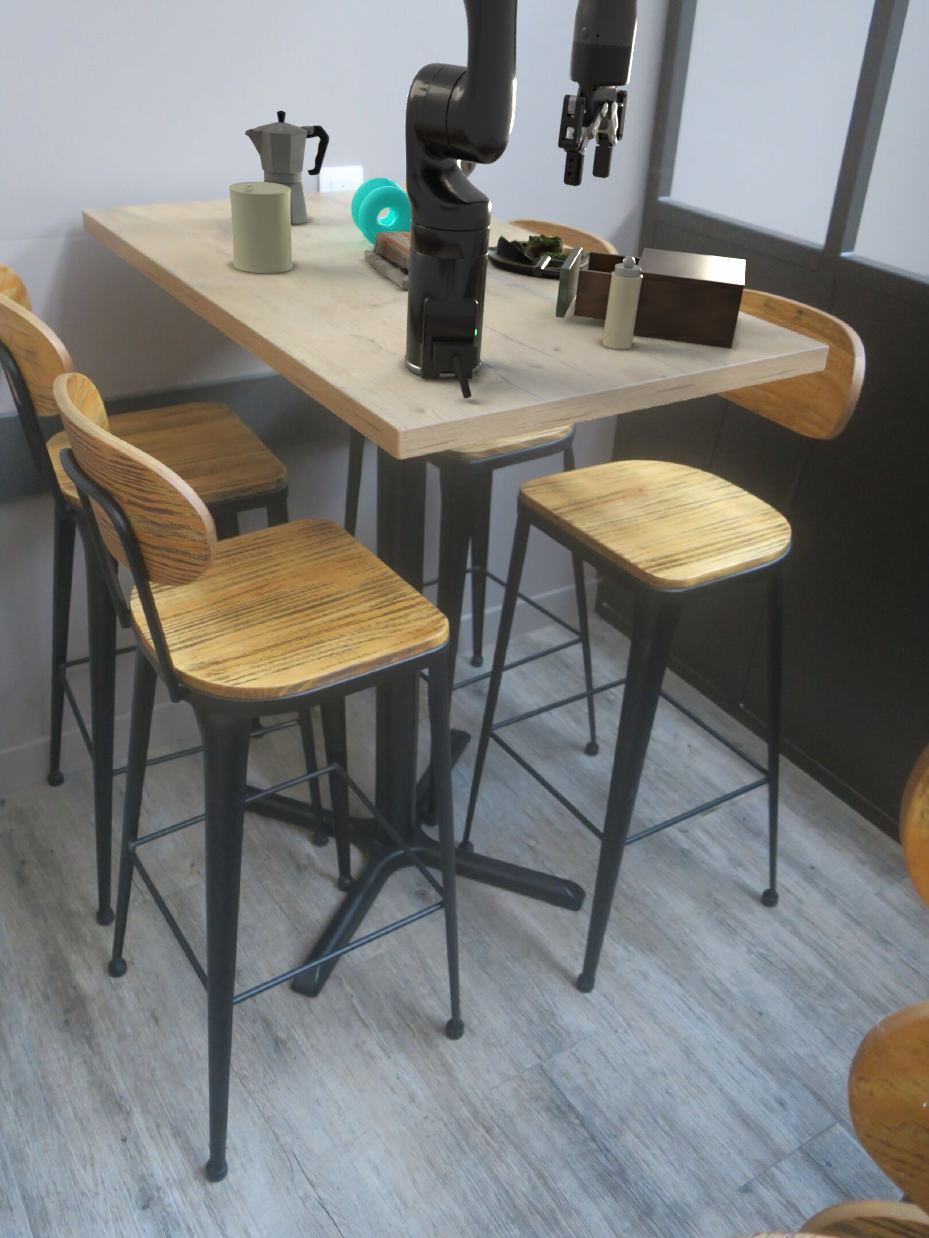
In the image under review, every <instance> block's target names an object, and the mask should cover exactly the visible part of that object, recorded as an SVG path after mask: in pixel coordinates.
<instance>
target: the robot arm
mask: <svg viewBox="0 0 929 1238" xmlns="http://www.w3.org/2000/svg"><path fill="white" fill-rule="evenodd" d="M518 1H519V0H462V3H463V6H464V12H465V18H466V27H467V28H466V29H467V58H466V59H467V60H466V65H465V66H464V65H457V64H452V63H445V62H443V63H442V62H431V63H428V64H426V65H425V64H424V66H422V67H421V68H420V69H419V70H418V71H417V72H416V73H415V75H414V77H413V79H412V81H411V83H410V86H409V90H408V93H407V98H406V102H405V113H404V114H405V115H404V145H405V146H404V148H405V149H404V150H405V151H404V152H405V153H404V155H405V189H406V193H407V195H408V199H409V202H410V206H411V229H410V253H409V280H408V289H407V308H406V338H405V340H406V341H405V355H404V366H405V368H406V369H407V370H408V371H410V372H411V373H414V374H417V375H419V376H420V378H421V379H424V380H427V379H430V380H431V379H433V380H458V382H459V386H460V391H461V393H462V397H463V399H469V398H471V397H472V392H471V388H470V385H469V380H472V379H473V376H474V375H476V374H478V373H479V372H480V371H481V368H482V367H481V366H482V360H481V356H482V355H481V353H482V341H483V327H484V315H485V314H484V312H485V302H486V301H485V300H486V288H487V274H488V261H489V260H488V250H489V247H490V235H491V233H490V232H491V221H492V202H491V200H490V198H489V197H488V196H487V195H486V194H485V193H484V192H482V191H481V190H480V189H478V188H477V187H476V186H475V185H474V184H473V183H472V182H471V181H470V180H469V179H468V178H466V176H465V175H464V173H463V171H462V169H461V165H460V161H466V162H471V163H477V164H478V165H492V164H493V163H495V162H497V161H498V160H499V159H500V158H502V156H503V154H504V153H505V151H506V150H507V147H508V145H509V142H510V139H511V135H512V132H513V128H514V122H515V115H516V100H517V29H518V27H517V26H518V3H519V2H518ZM638 2H639V0H578V1H577V6H576V12H575V16H574V23H573V34H572V42H571V51H570V52H571V53H570V60H569V71H568V78H569V80H570V81H571V82H574V83H577V84H578V88H577V92H576V95H573V94H565V95H564V97H563V100H562V109H561V117H560V124H559V132H558V140H557V147H558V149H563V152H565V153H566V154H565V162H564V163H565V165H564V174H563V183H564V184H565V185H566V186H571V187H578V186H580V185H581V184H582V182H583V181H582V180H583V172H584V162H585V152H586V150H587V147H588V145H589V142H590V141H591V140H593V139H595V142H596V145H595V146H594V147H595V149H594V155H593V165H592V176H593V177H595V178H600V179H606V178H608V177H610V173H611V167H612V166H611V165H612V159H613V158H612V157H613V150H614V148H615V147H616V146H617V143H618V141H622V140H623V137H624V131H625V122H626V113H627V102H628V96H629V95H628V93H629V92H628V90H624V89H623V90H622V89H618V88H617V87H624V86H626V85H628V84H629V82H630V79H631V77H630V76H631V70H632V62H633V56H634V55H633V54H634V48H635V39H636V33H637V26H638ZM567 134H568V135H567Z"/></svg>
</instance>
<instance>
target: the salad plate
mask: <svg viewBox="0 0 929 1238" xmlns="http://www.w3.org/2000/svg"><path fill="white" fill-rule="evenodd" d="M572 250H573V248H568V247H565V245H564V241H563V237H560V236H559V235H556V236H554V234H549V235H548V236H546V235H545V234H544V233H541V234H540V235H529V236H528V240H515V239H514V240H511V241H510V240H508V239H507V238H506V237H505V236H503V235H501V236H500V237H498V240H497V243H496V246H489V250H488V261H489V262H490V264H491V265H492V266H493V267H494V268H496V269H499V270H501V271H505V272H510V273H515V274H519V275H523V276H529V277H535V278H543V279H560V276H556V275H549V274H543V273H542V275H541V276H535V275H534V273H533V269H534V268H535V266H536V265H537V263H538V262H539V261H540V259H541V258H542V257H543V256H544V255H547V256H549V257H550V259H555V260H563V261H566V259H567V258H568V256H569V255H570V253H571V252H572ZM589 254H590V251H587V250H584V249H582V255H581V263H580V269H583V270H585V269H586V268H588V262H589ZM561 267H562V265H554V264H550V263H549V265H548V266H547V268H546V269H550V270H558V271H561Z"/></svg>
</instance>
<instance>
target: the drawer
mask: <svg viewBox="0 0 929 1238" xmlns="http://www.w3.org/2000/svg"><path fill="white" fill-rule="evenodd" d="M572 249H573V250H572V252H571V253H570V255H569V256H568V258H567V259H566V261H563V260H555V259H550V257H549V256H547V255H544V256H543V257H542V258H541V259H540V261H539V262H538V263H537V265H536V266H535V268H534V269H533V273H534V275H535V276H541V275H542V273H543V274H549V275H556V276H560V278H559V279H558V289H557V298H556V307H555V315H554V316H555V317H556V318H561V319H564V318H565V316H566V314H567V312H568V310H569V309H570V307H571V305H572V303H573V301H574V299H575V301H574V302H575V303H574V309H573V316H574V317H581V318H589V319H596V320H602V321H605V319H606V312H607V305H608V297H609V290H610V283H611V276H612V272H614V271H615V265H616V264H620V263H623V260H624V258H625V257H627V256H628V255H627V254H626V255H625V254H617V253H610V252H602V251H594V250H590V251H589V252H590V254H589V262H588V266H587V269H580V263H581V255H582V250H583V247H581V246H574V247H573V248H572ZM630 256H631V257H633V258H634V260H635V265H638V263H639V261H640V258H641V256H634V255H630ZM549 263H550V264H554V265H562V267H561V271H558V270H550V269H546V268H547V266H548V265H549Z"/></svg>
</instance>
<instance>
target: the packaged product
mask: <svg viewBox="0 0 929 1238" xmlns="http://www.w3.org/2000/svg"><path fill="white" fill-rule="evenodd" d="M409 253H410V233H409V232H406V231H396V232H394V231H392V232H379V233H376V237H375V243H374V245H373V250H369V249H366V250H364V251H363V255H364V257H363V258H364V260H365V261H366V262H368V263H369V264H370V265H372V267H373V268H375V269H376V271H377V272H378V273H379V274H380V275H381V276H383V277H386V278H387V279H389V280H390V281H391V282H392V283H394V284H395V285H396V286H398V287H399V288H400V289H401V290H408V280H409Z"/></svg>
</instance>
